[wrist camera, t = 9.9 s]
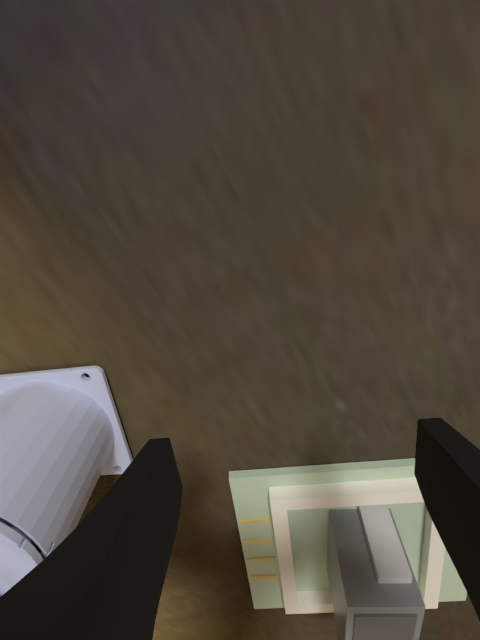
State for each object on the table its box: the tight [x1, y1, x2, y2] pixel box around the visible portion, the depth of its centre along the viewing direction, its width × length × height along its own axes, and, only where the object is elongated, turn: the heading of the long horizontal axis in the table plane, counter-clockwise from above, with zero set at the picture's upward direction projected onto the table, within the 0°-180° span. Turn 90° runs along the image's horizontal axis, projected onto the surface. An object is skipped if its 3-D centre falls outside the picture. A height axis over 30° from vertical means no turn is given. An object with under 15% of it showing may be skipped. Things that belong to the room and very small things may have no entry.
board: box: [229, 458, 467, 614], centre depth 27 cm, size 16×14×2 cm
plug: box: [327, 504, 425, 640], centre depth 25 cm, size 4×6×6 cm, turn 4°
